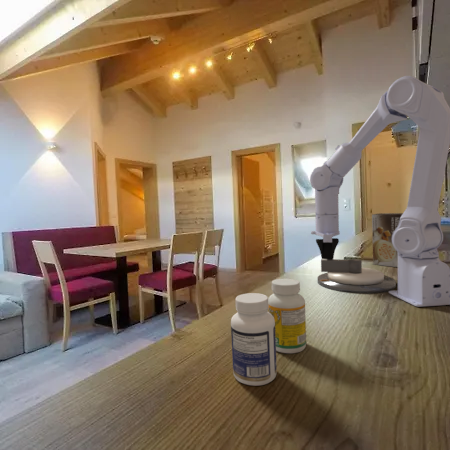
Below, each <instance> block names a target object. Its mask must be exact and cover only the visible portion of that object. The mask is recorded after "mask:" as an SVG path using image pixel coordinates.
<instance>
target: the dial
mask: <svg viewBox="0 0 450 450" xmlns="http://www.w3.org/2000/svg"><path fill="white" fill-rule="evenodd" d="M362 265H363V263H362V259H356V258H355V259H354V258H353V259H337V258H335V259H334V258H333V259H322V258H321V260H320V271H321V273H328V279H329V280H331V281H334V282H338V283H343V284H351V285H372V284H378V283H381V282H383V281H384V275H385V274H384V272H383V271H381V270H379V269H375V268H369V267H363V266H362Z"/></svg>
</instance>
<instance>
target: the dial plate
mask: <svg viewBox="0 0 450 450" xmlns="http://www.w3.org/2000/svg"><path fill="white" fill-rule="evenodd" d="M317 284H318V285H319V286H321V287H323V288H326V289H329V290H332V291H338V292H343V293H352V294H353V293H354V294H377V293H380V294H381V293H385V292H389V291H393V290H394V289H396V287H397V285H396V284H397V281H396V280H395V279H394V278H393V277H391V276H388V275H385V274H384V281H383V282H381V283H378V284H372V285H351V284H343V283H338V282H334V281H331V280H329V279H328V272H323V273H322V274H319V275H318V276H317Z"/></svg>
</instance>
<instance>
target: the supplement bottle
mask: <svg viewBox="0 0 450 450" xmlns="http://www.w3.org/2000/svg"><path fill="white" fill-rule="evenodd" d="M271 291H272V294H271V295H269V296H268V304H269V307H268V310H267V312H269V313H270V314H271V315H272V316H273V317H274V320H275V338H276V352H278V353H282V354H297V353H300V352H302V351H304V349H305V348H306V346H307V329H306V328H307V327H306V325H307V323H306V321H307V320H306V301H305V300H306V299H305V298H304V297H303V295H301V294H300V291H301V284H300V281H299V280H297V279H292V278H276V279H273V280H272V281H271Z"/></svg>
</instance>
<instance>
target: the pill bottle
mask: <svg viewBox="0 0 450 450" xmlns="http://www.w3.org/2000/svg"><path fill="white" fill-rule="evenodd" d="M268 298H269V296H268V295H265V294H263V293H258V292H257V293H256V292H251V293H250V292H249V293H247V292H246V293H242V294H239V295H237V296H236V297H235V310H236V311H237V312H236V313H235V314H233V315H232V317H231V319H230V331H231V332H230V333H231V334H230V335H231V353H232V371H233V373H232V374H233V377H234V378H235V380H236V381H238V382H239V383H242V384H244V385H247V386H254V387H255V386H264V385H268V384H269V383H271V382H272V381H273V380H275V378H276V376H277V373H278V372H277V371H278V367H277V351H276V338H275V320H274V317H273V316H272V315H271V314H270V313H269V312H268V307H269V304H268Z"/></svg>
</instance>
